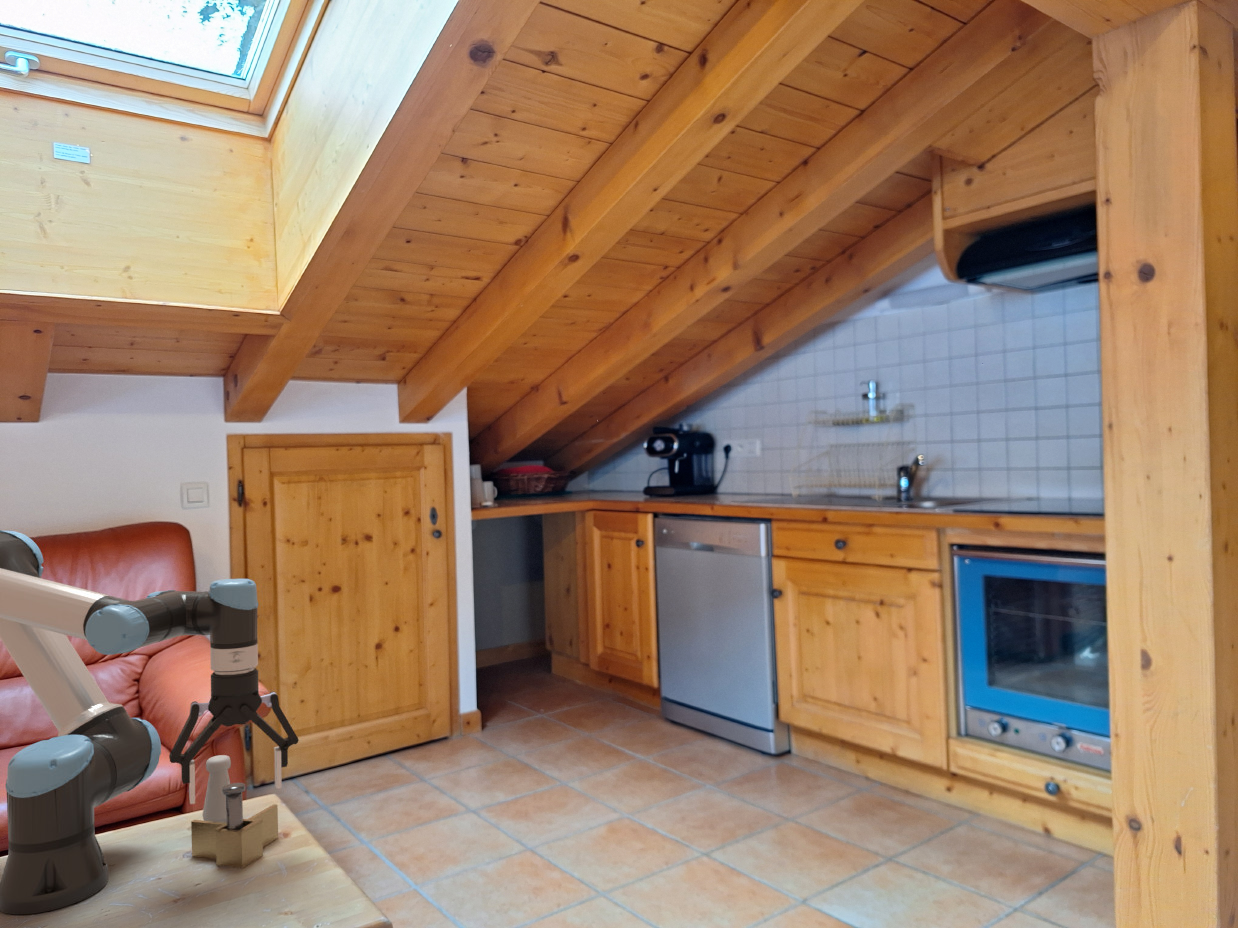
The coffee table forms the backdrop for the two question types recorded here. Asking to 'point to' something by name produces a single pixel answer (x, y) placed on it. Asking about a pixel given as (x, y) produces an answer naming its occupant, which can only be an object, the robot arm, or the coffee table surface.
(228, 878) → the coffee table surface
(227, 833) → the hinge
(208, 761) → the salt shaker
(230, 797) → the hinge pin
